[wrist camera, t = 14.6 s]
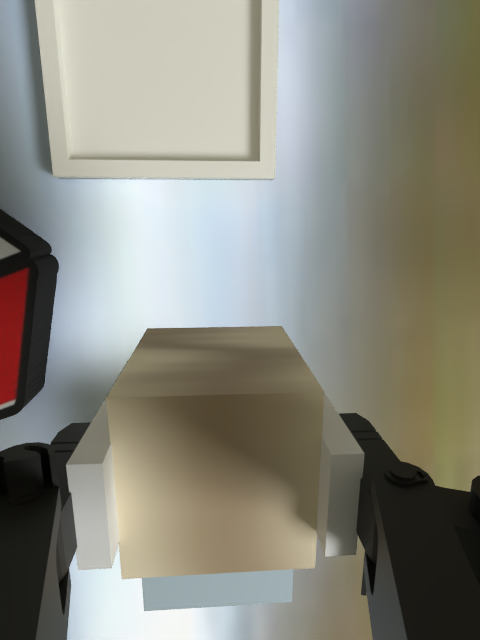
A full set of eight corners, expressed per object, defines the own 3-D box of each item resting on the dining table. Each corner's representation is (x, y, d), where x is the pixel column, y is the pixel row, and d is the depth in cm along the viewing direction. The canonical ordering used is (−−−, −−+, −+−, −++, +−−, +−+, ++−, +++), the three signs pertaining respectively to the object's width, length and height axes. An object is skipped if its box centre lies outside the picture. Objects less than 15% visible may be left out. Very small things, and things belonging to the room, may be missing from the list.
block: (154, 449, 16) (122, 578, 10) (147, 328, 15) (105, 398, 9) (278, 445, 16) (314, 567, 11) (281, 326, 15) (324, 391, 9)
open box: (162, 506, 33) (144, 610, 24) (157, 406, 31) (134, 480, 22) (271, 502, 34) (292, 601, 25) (273, 402, 32) (297, 473, 23)
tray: (61, 178, 27) (53, 176, 25) (35, -79, 23) (24, -97, 22) (272, 180, 28) (275, 177, 26) (276, -67, 24) (280, -84, 23)
